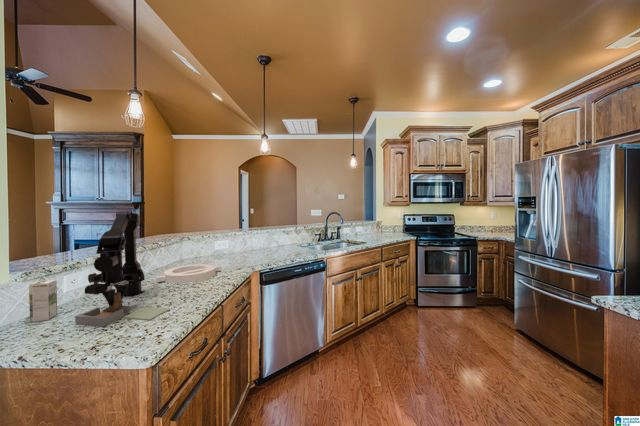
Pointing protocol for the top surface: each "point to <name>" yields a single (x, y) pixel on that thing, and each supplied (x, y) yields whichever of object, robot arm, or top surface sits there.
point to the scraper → (117, 304)
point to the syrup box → (43, 300)
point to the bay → (98, 318)
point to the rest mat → (146, 313)
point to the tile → (104, 314)
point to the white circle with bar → (189, 273)
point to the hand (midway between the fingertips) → (115, 304)
